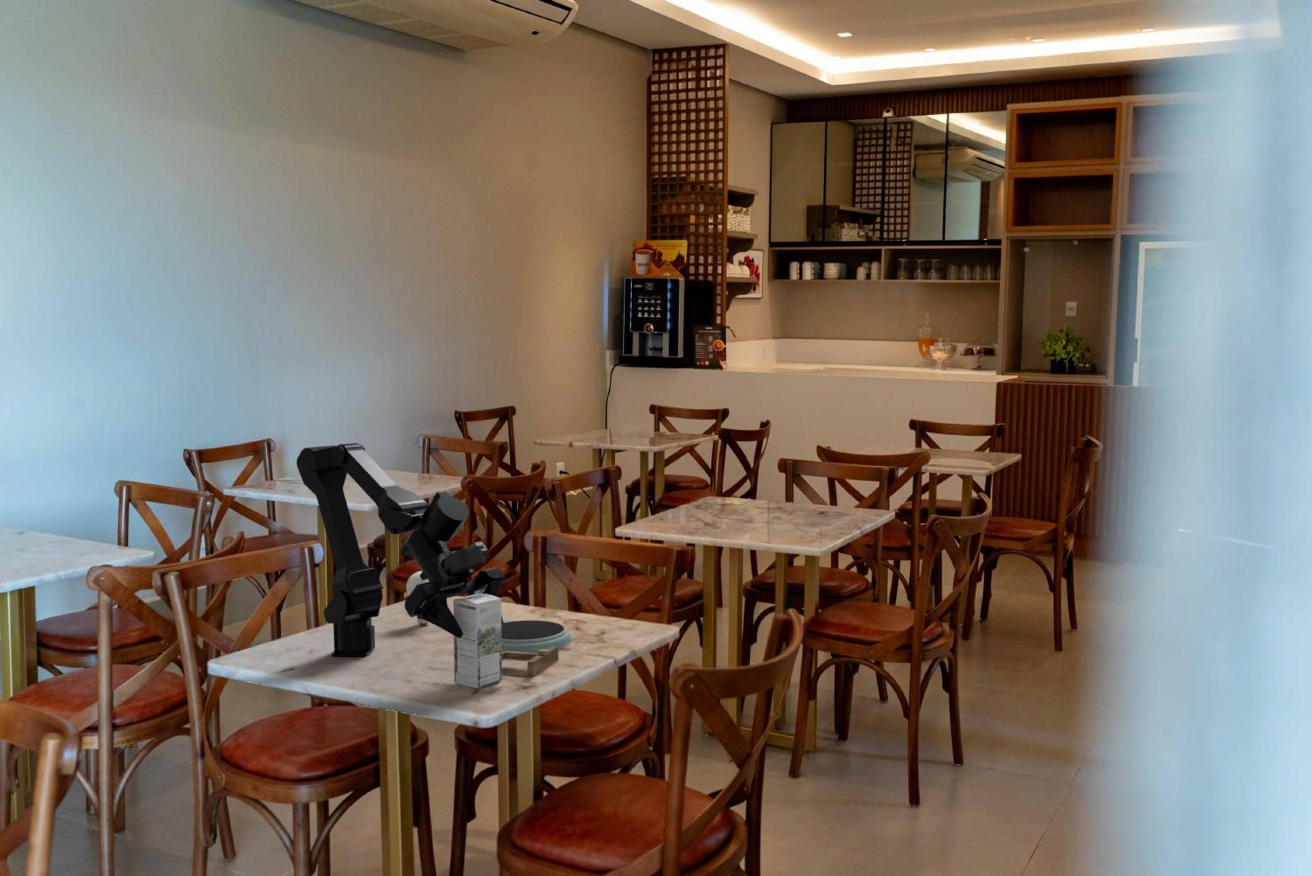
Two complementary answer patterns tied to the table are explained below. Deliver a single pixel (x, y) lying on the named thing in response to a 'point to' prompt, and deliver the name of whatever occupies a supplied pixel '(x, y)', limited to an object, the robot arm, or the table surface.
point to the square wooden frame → (531, 661)
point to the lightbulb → (412, 584)
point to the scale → (533, 635)
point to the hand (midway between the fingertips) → (481, 630)
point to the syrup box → (478, 641)
